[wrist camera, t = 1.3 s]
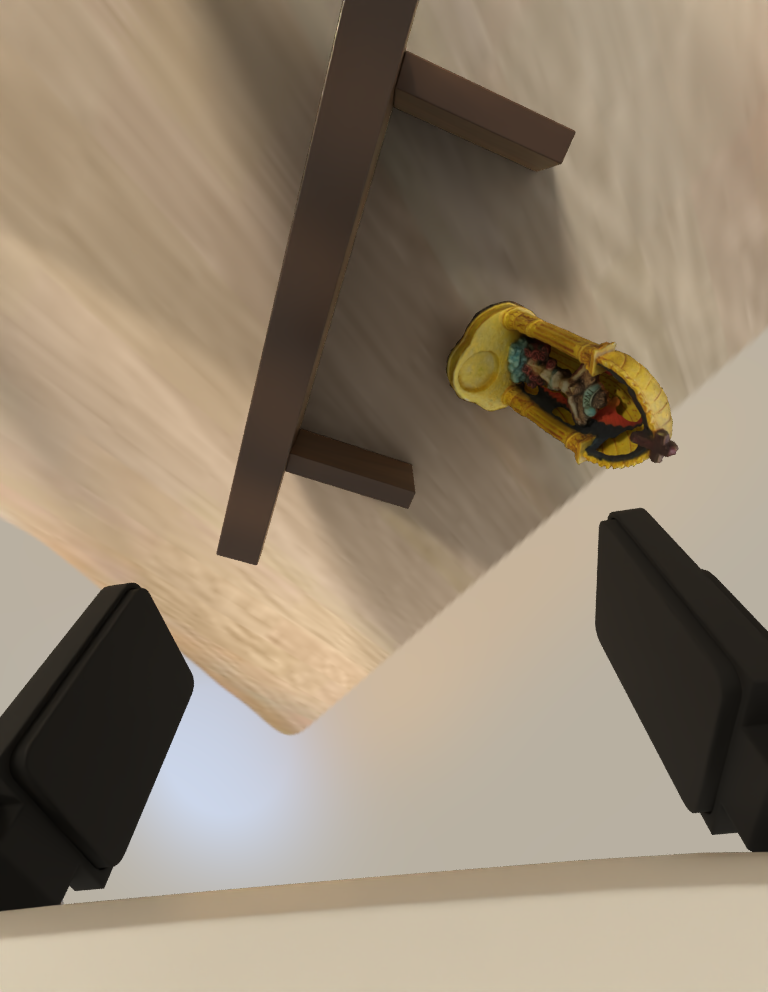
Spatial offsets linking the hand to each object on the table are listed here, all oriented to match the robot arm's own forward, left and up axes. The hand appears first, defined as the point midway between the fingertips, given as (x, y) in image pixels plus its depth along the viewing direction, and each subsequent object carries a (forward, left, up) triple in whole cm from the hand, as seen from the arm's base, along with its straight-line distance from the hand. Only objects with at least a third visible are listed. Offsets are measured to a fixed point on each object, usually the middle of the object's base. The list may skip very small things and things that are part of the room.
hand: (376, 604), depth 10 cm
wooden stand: (-1, 0, -30) cm, 30 cm away
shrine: (-1, +10, -30) cm, 32 cm away
